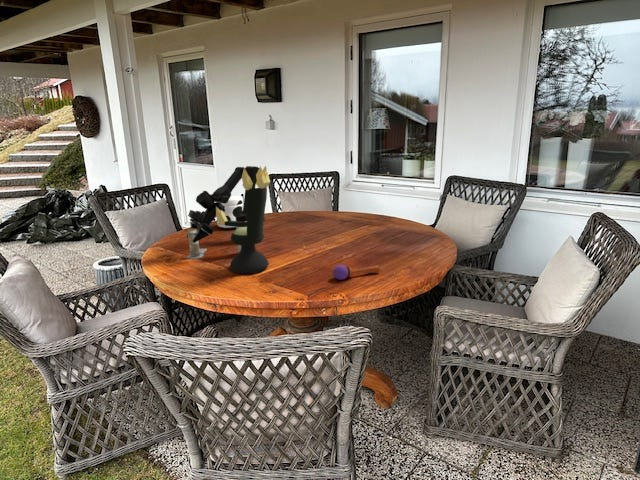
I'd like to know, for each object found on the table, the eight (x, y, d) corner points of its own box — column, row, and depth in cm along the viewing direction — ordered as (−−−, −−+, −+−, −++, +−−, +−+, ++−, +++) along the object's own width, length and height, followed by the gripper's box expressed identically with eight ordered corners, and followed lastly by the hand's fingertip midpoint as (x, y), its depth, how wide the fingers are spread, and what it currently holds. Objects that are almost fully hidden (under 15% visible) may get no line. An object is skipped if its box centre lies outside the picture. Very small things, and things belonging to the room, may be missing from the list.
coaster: (207, 254, 205) (206, 253, 205) (197, 259, 198) (197, 258, 198) (192, 253, 207) (192, 252, 207) (183, 258, 200) (183, 257, 200)
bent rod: (207, 250, 211) (206, 248, 211) (201, 253, 207) (201, 251, 206) (194, 249, 213) (194, 247, 213) (189, 252, 209) (188, 250, 208)
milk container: (212, 227, 256) (209, 197, 251) (236, 222, 268) (234, 194, 262) (226, 232, 244) (224, 201, 239) (252, 226, 255) (249, 197, 250)
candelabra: (252, 258, 198) (245, 161, 185) (287, 267, 184) (282, 163, 172) (220, 269, 184) (210, 165, 171) (254, 281, 171) (246, 168, 158)
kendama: (382, 266, 172) (337, 270, 165) (379, 279, 175) (335, 283, 167) (375, 259, 177) (331, 262, 170) (373, 271, 180) (330, 275, 172)
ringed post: (202, 254, 204) (199, 228, 200) (196, 257, 199) (193, 230, 196) (193, 253, 205) (190, 227, 202) (187, 256, 201) (184, 230, 197)
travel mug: (249, 256, 201) (246, 215, 195) (236, 255, 202) (233, 214, 197) (254, 252, 207) (251, 212, 201) (241, 251, 208) (238, 212, 202)
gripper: (191, 200, 205) (171, 226, 202) (204, 206, 190) (182, 234, 187) (209, 214, 211) (189, 239, 209) (222, 221, 196) (201, 248, 194)
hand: (190, 239), depth 199 cm, fingers open, 9 cm apart
